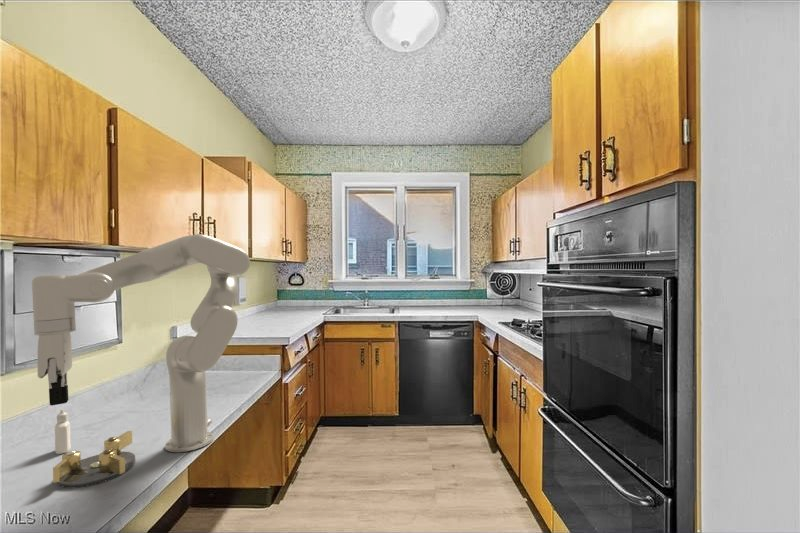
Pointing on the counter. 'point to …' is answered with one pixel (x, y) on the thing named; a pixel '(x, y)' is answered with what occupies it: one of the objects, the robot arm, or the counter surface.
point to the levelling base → (94, 471)
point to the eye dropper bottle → (62, 433)
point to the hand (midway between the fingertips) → (59, 403)
